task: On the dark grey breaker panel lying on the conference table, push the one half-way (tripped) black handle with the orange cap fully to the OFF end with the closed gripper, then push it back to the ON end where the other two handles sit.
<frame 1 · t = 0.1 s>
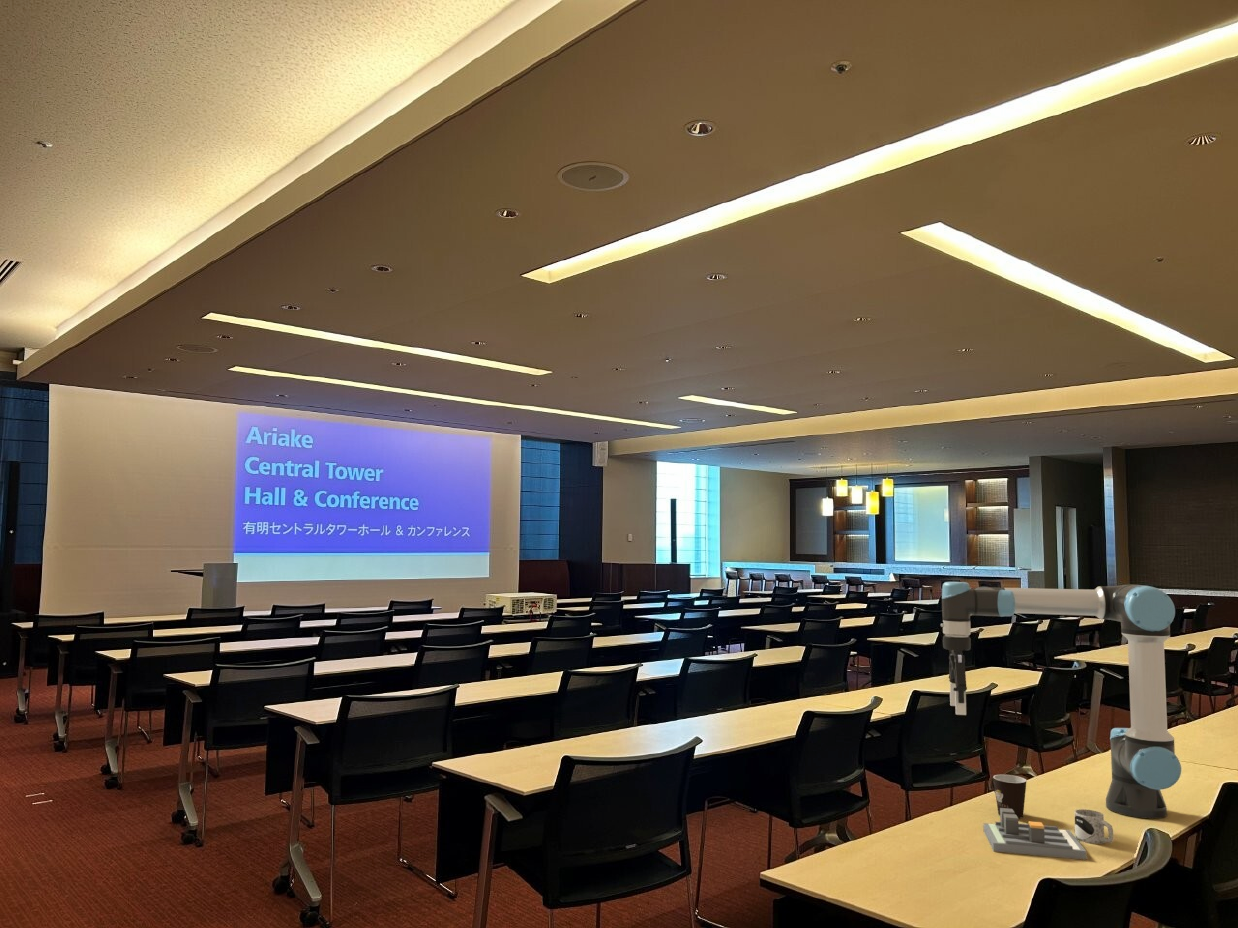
hand: (958, 710, 255), 28 cm above the table, fingers open, 13 cm apart
panel: (1032, 844, 225), on the table
coffee mug: (1009, 814, 250), on the table
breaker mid: (1011, 825, 226), point 4 cm above the table, slide at 5.0 cm
mug: (1095, 842, 228), on the table
tripped breaker: (1036, 833, 220), point 4 cm above the table, slide at 0.0 cm
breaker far: (1007, 819, 231), point 4 cm above the table, slide at 5.0 cm
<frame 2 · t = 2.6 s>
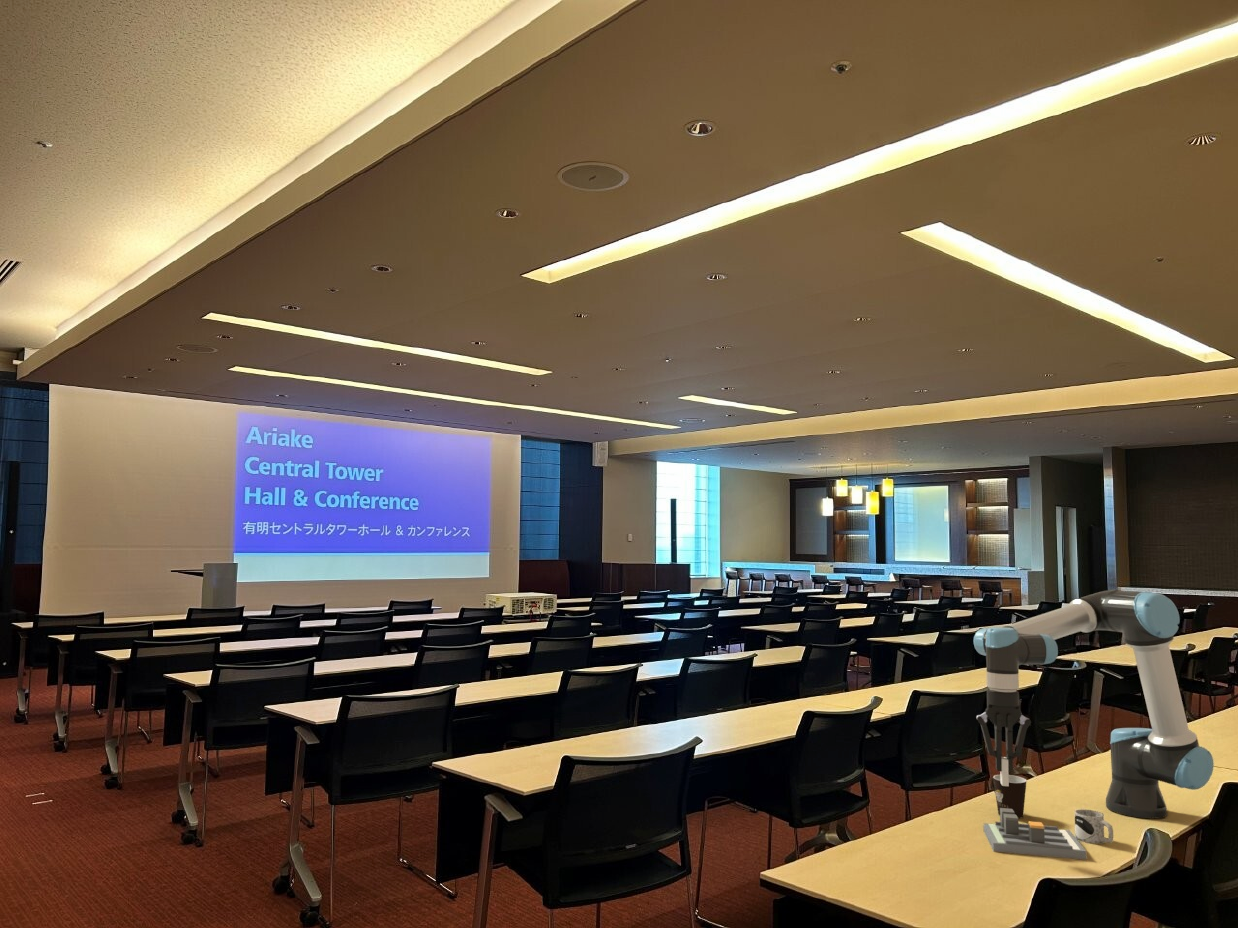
hand: (1004, 784, 223), 16 cm above the table, fingers closed
nothing on the table moved.
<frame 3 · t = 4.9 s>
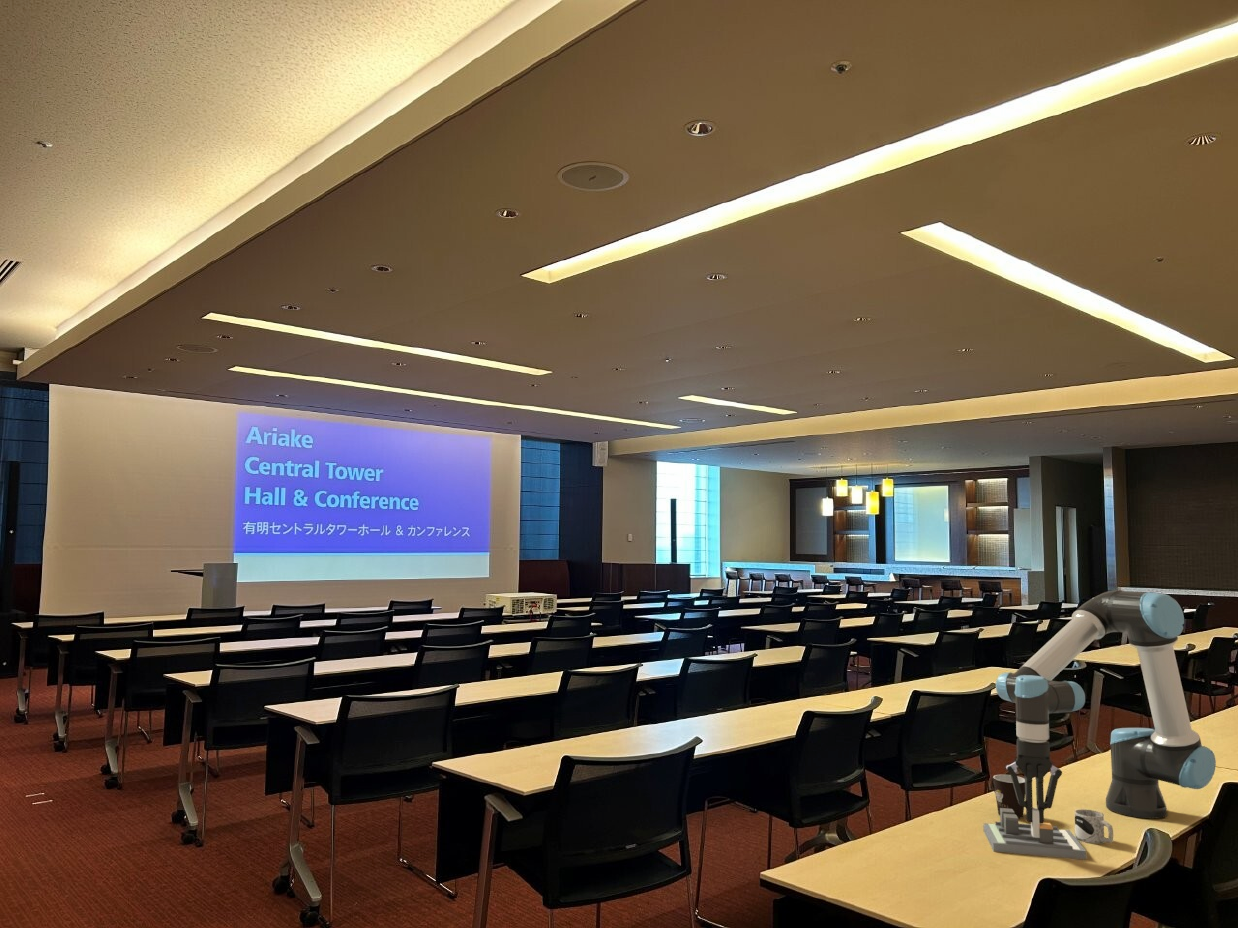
hand: (1035, 835, 220), 4 cm above the table, fingers closed
tripped breaker: (1045, 833, 220), point 4 cm above the table, slide at -2.0 cm, touching gripper
everything else where it was.
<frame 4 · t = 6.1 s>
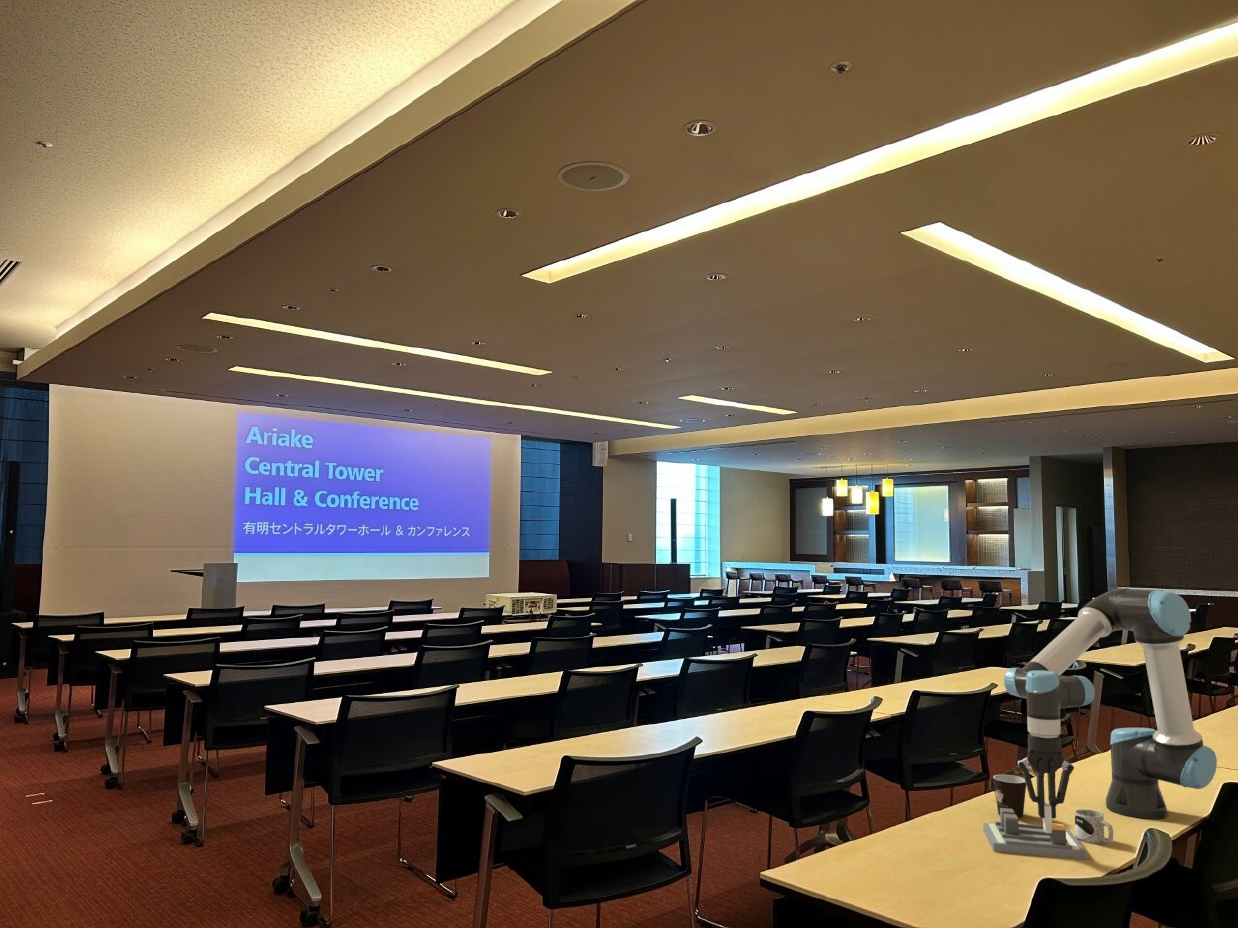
hand: (1047, 830, 220), 5 cm above the table, fingers closed
tripped breaker: (1057, 834, 219), point 4 cm above the table, slide at -4.9 cm
everything else where it was.
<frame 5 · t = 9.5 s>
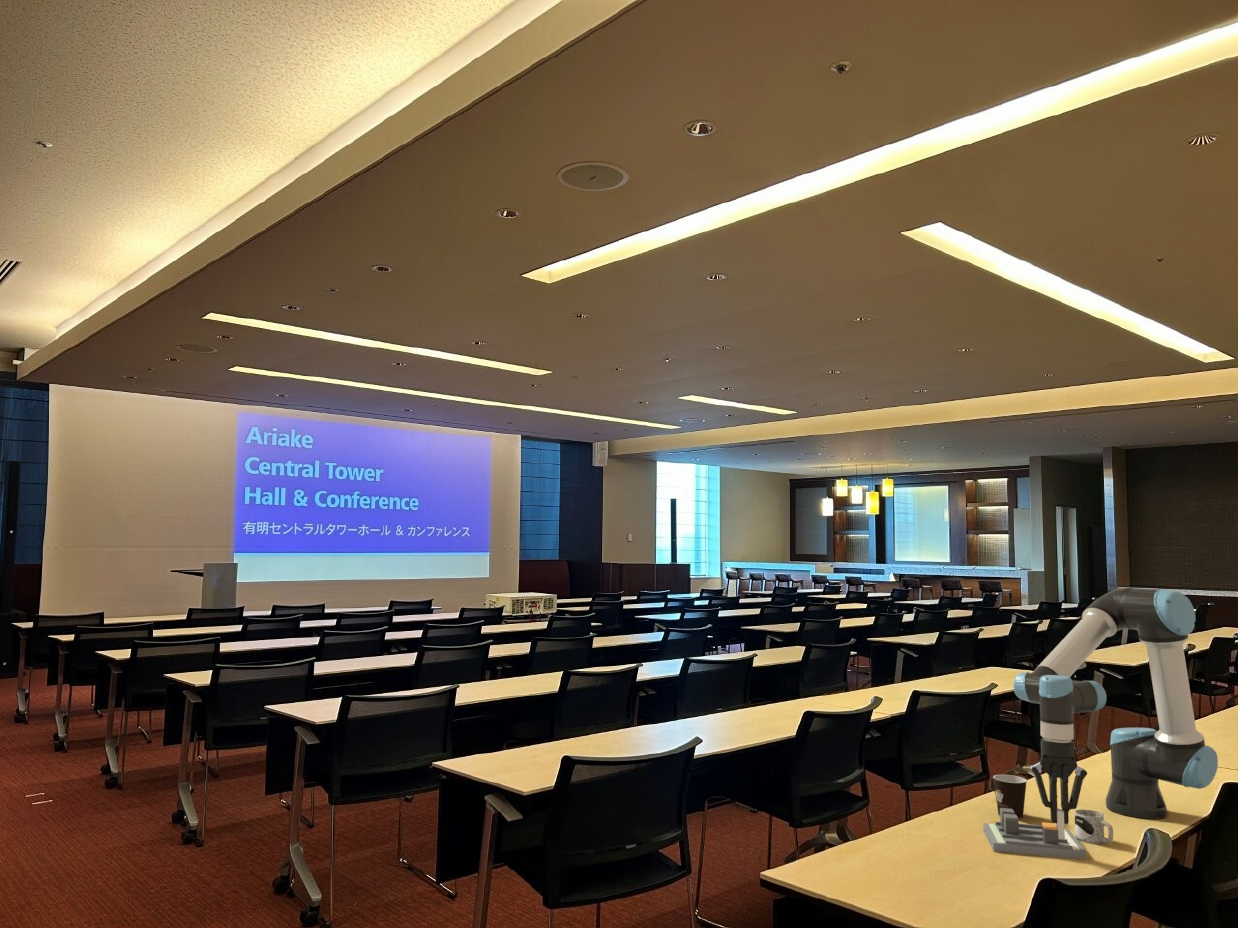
hand: (1060, 836, 219), 4 cm above the table, fingers closed
tripped breaker: (1050, 834, 220), point 4 cm above the table, slide at -3.1 cm, touching gripper
everything else where it was.
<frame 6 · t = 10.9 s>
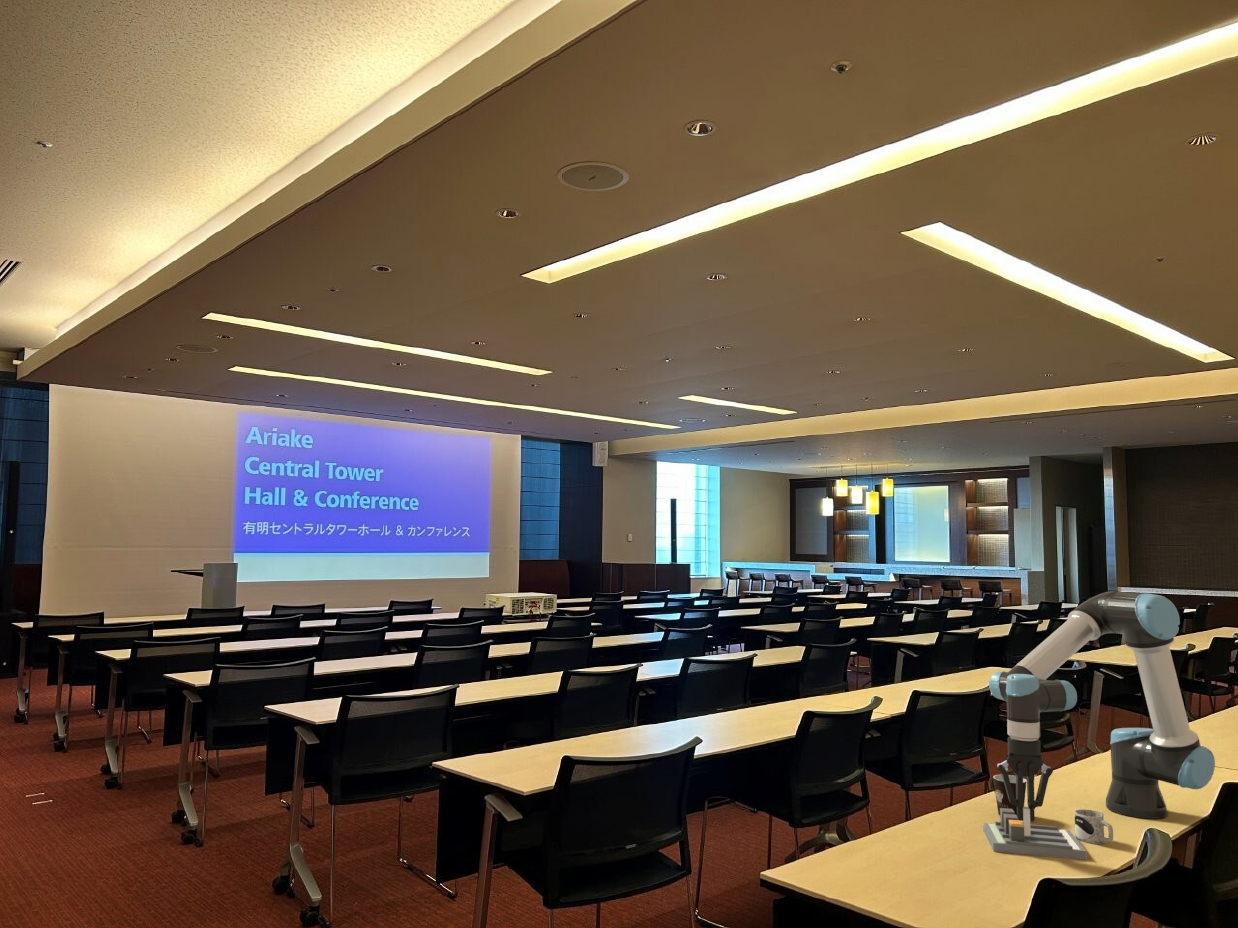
hand: (1026, 833, 221), 4 cm above the table, fingers closed
tripped breaker: (1016, 831, 221), point 4 cm above the table, slide at 4.6 cm, touching gripper
everything else where it was.
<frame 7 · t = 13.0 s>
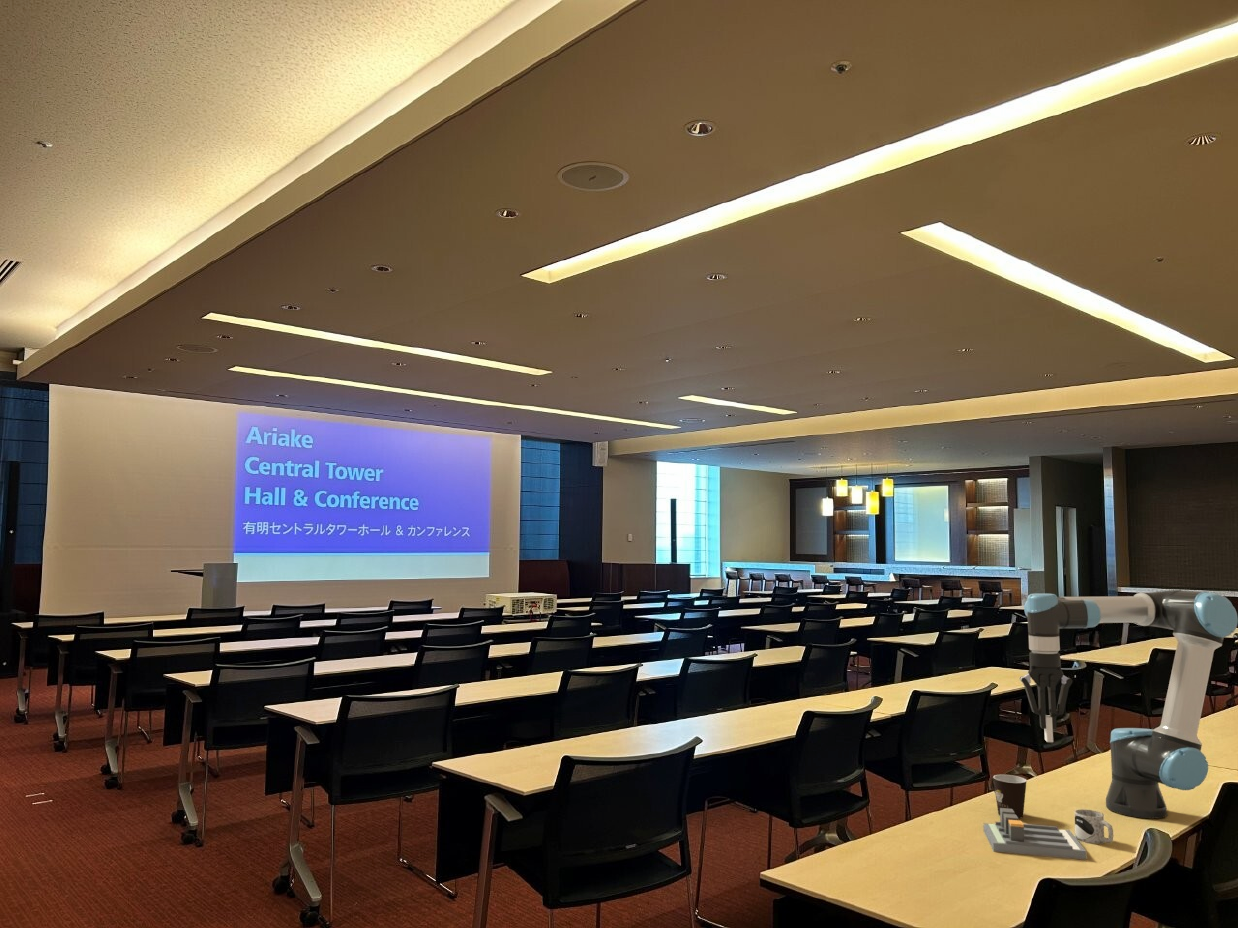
hand: (1048, 740, 237), 24 cm above the table, fingers closed
tripped breaker: (1016, 831, 221), point 4 cm above the table, slide at 4.7 cm
everything else where it was.
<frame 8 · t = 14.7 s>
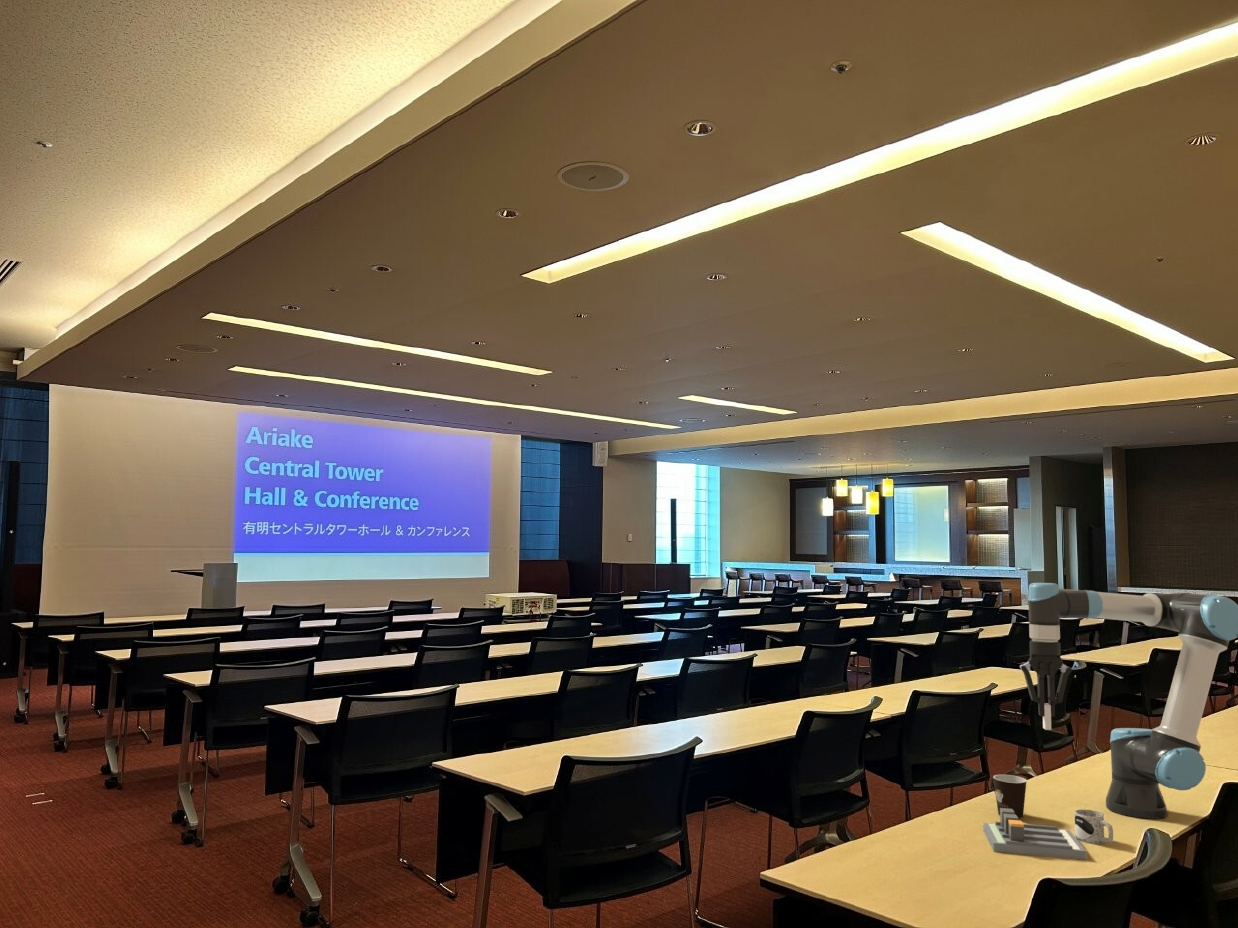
hand: (1047, 728, 239), 26 cm above the table, fingers closed
nothing on the table moved.
at the end: tripped breaker slide at 4.7 cm; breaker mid slide at 5.0 cm; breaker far slide at 5.0 cm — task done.
